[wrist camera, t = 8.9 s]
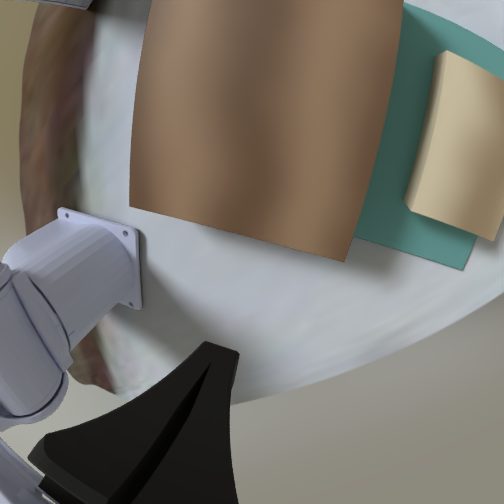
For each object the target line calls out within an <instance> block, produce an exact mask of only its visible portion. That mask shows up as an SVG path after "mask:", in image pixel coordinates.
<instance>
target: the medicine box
mask: <svg viewBox="0 0 504 504" xmlns="http://www.w3.org/2000/svg"><path fill="white" fill-rule="evenodd" d="M21 1H32V2H41V3H49V4H57V5H64V6H70V7H75V8H80V9H87V8H88V6H89V5H90V4H91V2H92V1H93V0H21Z"/></svg>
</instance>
